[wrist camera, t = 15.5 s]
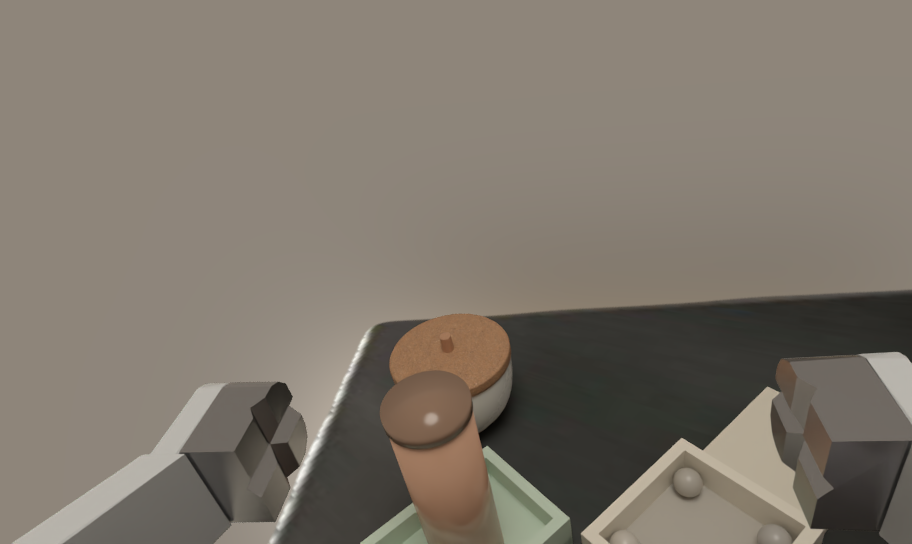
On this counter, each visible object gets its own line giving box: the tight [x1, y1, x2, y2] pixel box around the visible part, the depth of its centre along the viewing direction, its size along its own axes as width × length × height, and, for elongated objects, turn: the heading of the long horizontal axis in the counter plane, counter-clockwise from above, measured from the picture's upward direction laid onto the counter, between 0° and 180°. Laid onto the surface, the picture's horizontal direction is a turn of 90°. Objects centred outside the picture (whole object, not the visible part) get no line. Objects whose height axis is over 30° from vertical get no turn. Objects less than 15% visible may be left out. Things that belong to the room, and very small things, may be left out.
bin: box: [581, 387, 827, 544], centre depth 39 cm, size 22×10×4 cm, turn 127°
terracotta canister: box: [380, 370, 504, 544], centre depth 36 cm, size 5×5×15 cm
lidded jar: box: [389, 314, 512, 433], centre depth 50 cm, size 11×11×9 cm
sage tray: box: [360, 446, 573, 544], centre depth 40 cm, size 12×9×3 cm
